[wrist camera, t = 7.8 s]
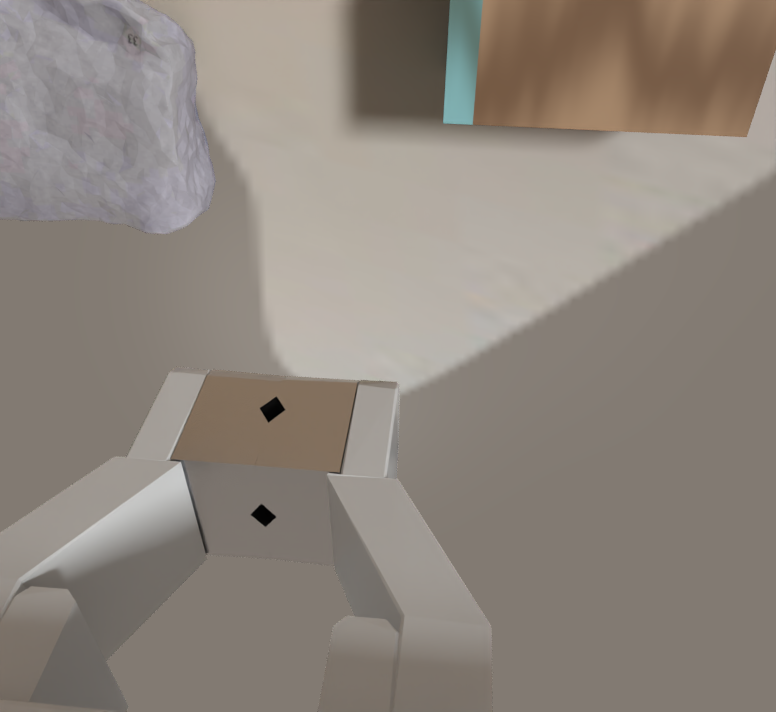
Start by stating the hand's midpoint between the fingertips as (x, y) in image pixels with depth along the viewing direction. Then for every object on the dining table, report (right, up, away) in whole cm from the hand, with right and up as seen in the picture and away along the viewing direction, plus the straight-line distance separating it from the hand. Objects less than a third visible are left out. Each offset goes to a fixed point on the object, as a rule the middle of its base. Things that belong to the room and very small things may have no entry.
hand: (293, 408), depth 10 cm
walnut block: (+3, +12, +15) cm, 20 cm away
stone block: (-12, +12, +21) cm, 27 cm away
